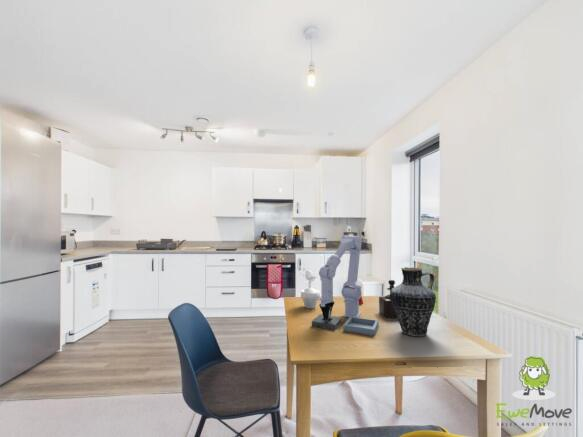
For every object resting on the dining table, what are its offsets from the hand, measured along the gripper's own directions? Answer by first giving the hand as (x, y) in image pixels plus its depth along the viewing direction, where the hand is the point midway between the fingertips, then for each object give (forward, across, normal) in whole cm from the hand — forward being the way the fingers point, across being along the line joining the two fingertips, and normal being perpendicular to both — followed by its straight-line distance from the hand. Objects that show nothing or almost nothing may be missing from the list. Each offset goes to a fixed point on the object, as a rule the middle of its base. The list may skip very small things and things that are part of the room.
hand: (327, 317), depth 147 cm
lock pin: (+3, 0, 0) cm, 3 cm away
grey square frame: (+3, 0, 0) cm, 3 cm away
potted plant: (+4, -24, -18) cm, 30 cm away
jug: (+4, -6, +40) cm, 41 cm away
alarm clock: (+4, -47, +3) cm, 47 cm away
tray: (+3, -1, +17) cm, 17 cm away
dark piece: (+4, -31, +27) cm, 41 cm away
